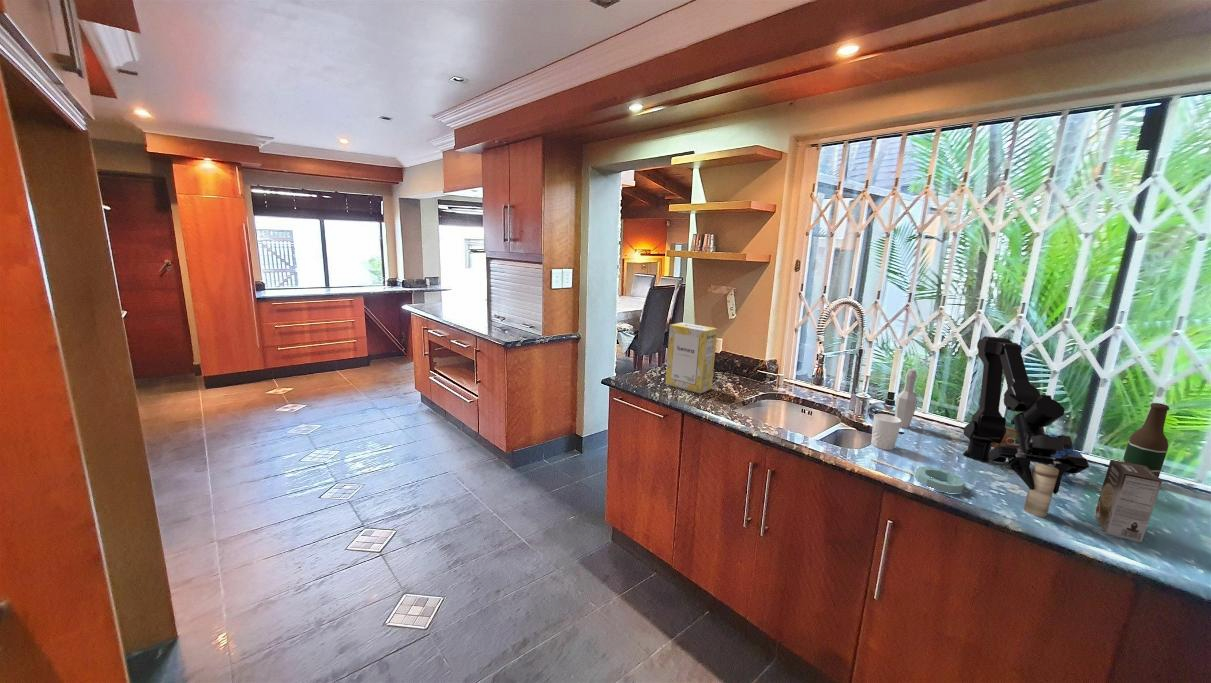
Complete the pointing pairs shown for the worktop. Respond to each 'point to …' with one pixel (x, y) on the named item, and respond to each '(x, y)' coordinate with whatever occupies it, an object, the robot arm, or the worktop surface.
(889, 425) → the white cup
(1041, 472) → the wooden pepper mill
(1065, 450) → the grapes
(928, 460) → the worktop surface
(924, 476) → the green ring
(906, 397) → the faceted bottle
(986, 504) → the worktop surface
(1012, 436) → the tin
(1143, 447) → the beer bottle
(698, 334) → the pasta box
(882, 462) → the thin beige stick
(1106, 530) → the coffee box
